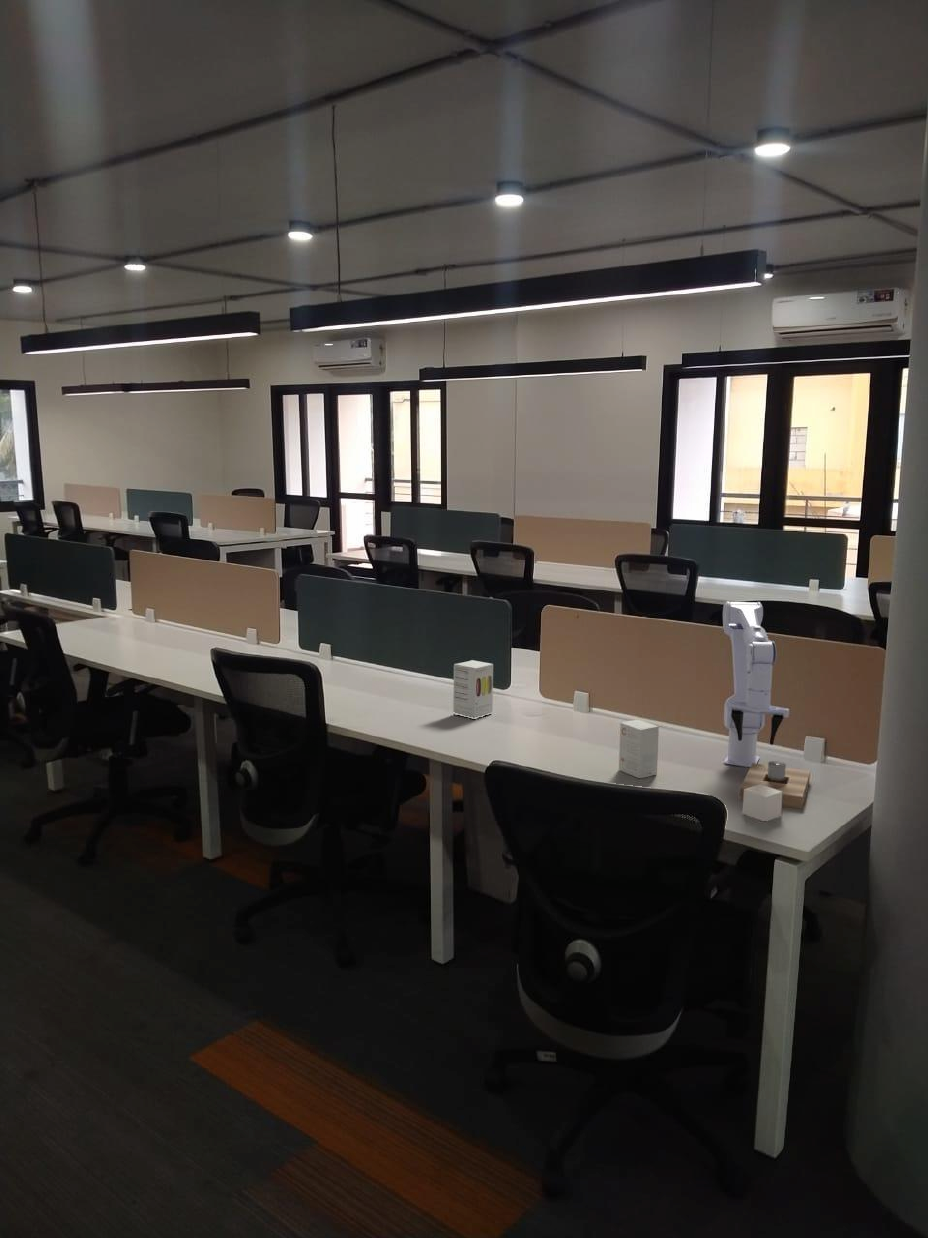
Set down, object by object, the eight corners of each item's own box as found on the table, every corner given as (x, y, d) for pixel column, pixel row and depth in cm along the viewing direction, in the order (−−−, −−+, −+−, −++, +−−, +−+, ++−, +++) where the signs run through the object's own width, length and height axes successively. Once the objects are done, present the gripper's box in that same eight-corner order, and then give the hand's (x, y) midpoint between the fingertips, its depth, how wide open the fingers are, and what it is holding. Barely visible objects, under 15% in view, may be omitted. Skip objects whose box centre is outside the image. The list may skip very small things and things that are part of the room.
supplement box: (474, 720, 279) (474, 668, 276) (452, 715, 285) (452, 663, 282) (493, 714, 286) (494, 663, 284) (471, 709, 292) (472, 659, 290)
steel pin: (767, 787, 222) (769, 760, 220) (784, 789, 220) (786, 762, 219) (765, 792, 218) (767, 765, 217) (782, 794, 216) (784, 767, 215)
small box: (657, 775, 230) (659, 726, 228) (639, 779, 227) (641, 729, 225) (635, 766, 237) (637, 718, 235) (617, 770, 234) (619, 722, 231)
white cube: (758, 808, 208) (760, 784, 207) (780, 816, 203) (782, 791, 202) (742, 814, 204) (743, 789, 203) (764, 822, 199) (766, 797, 198)
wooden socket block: (751, 774, 231) (752, 763, 230) (809, 782, 225) (810, 771, 225) (739, 799, 213) (740, 787, 213) (801, 809, 207) (802, 796, 207)
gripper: (726, 689, 222) (723, 741, 224) (787, 695, 215) (784, 749, 217) (731, 683, 228) (728, 734, 230) (790, 689, 222) (787, 742, 224)
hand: (755, 741), depth 224 cm, fingers open, 7 cm apart
